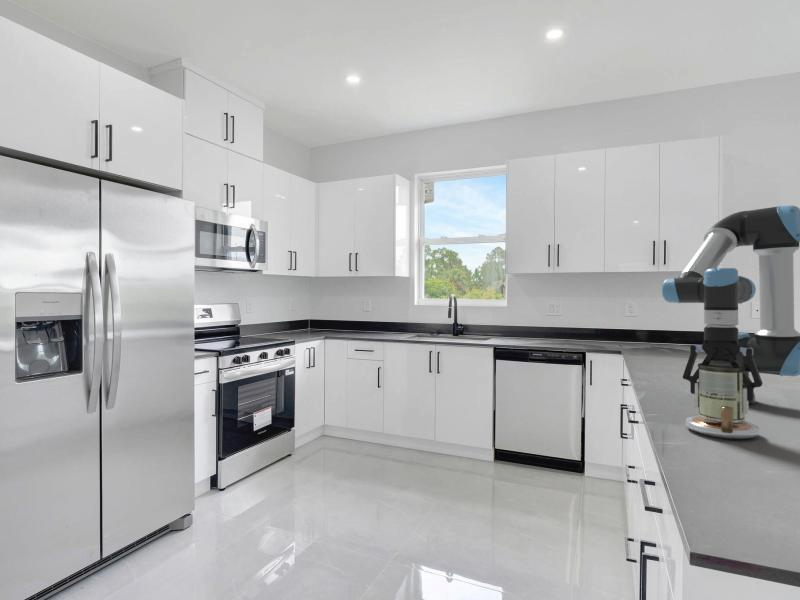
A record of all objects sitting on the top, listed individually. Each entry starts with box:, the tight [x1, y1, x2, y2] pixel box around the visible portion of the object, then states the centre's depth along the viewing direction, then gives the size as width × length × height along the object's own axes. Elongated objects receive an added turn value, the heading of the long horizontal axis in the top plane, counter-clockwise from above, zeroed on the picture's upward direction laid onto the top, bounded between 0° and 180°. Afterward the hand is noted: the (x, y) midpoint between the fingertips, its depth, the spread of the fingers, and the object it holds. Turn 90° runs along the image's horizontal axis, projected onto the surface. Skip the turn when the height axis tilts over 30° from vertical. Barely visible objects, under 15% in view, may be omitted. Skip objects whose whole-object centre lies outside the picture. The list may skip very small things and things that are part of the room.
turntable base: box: [698, 432, 748, 441], centre depth 123 cm, size 12×12×1 cm
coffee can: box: [697, 362, 746, 423], centre depth 123 cm, size 10×10×14 cm
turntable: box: [685, 406, 760, 439], centre depth 123 cm, size 17×16×8 cm
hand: (720, 409), depth 123 cm, fingers closed on coffee can, 10 cm apart
